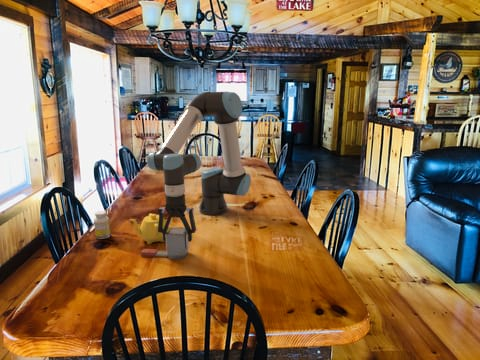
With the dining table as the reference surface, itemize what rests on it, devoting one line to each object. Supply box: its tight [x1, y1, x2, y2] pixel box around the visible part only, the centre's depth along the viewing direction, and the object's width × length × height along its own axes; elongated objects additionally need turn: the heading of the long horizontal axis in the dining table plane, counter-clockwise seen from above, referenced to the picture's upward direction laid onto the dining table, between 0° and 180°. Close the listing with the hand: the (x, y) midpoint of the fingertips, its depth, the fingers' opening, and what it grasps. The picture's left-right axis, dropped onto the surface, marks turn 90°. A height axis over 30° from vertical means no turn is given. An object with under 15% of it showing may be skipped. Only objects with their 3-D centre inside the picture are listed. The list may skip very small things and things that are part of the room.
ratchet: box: [140, 248, 189, 261], centre depth 152 cm, size 7×18×6 cm, turn 85°
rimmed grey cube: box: [166, 227, 189, 257], centre depth 151 cm, size 7×7×9 cm
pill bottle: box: [93, 210, 112, 240], centre depth 170 cm, size 6×6×12 cm
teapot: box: [128, 213, 170, 245], centre depth 166 cm, size 14×14×12 cm
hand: (178, 248), depth 151 cm, fingers open, 8 cm apart
